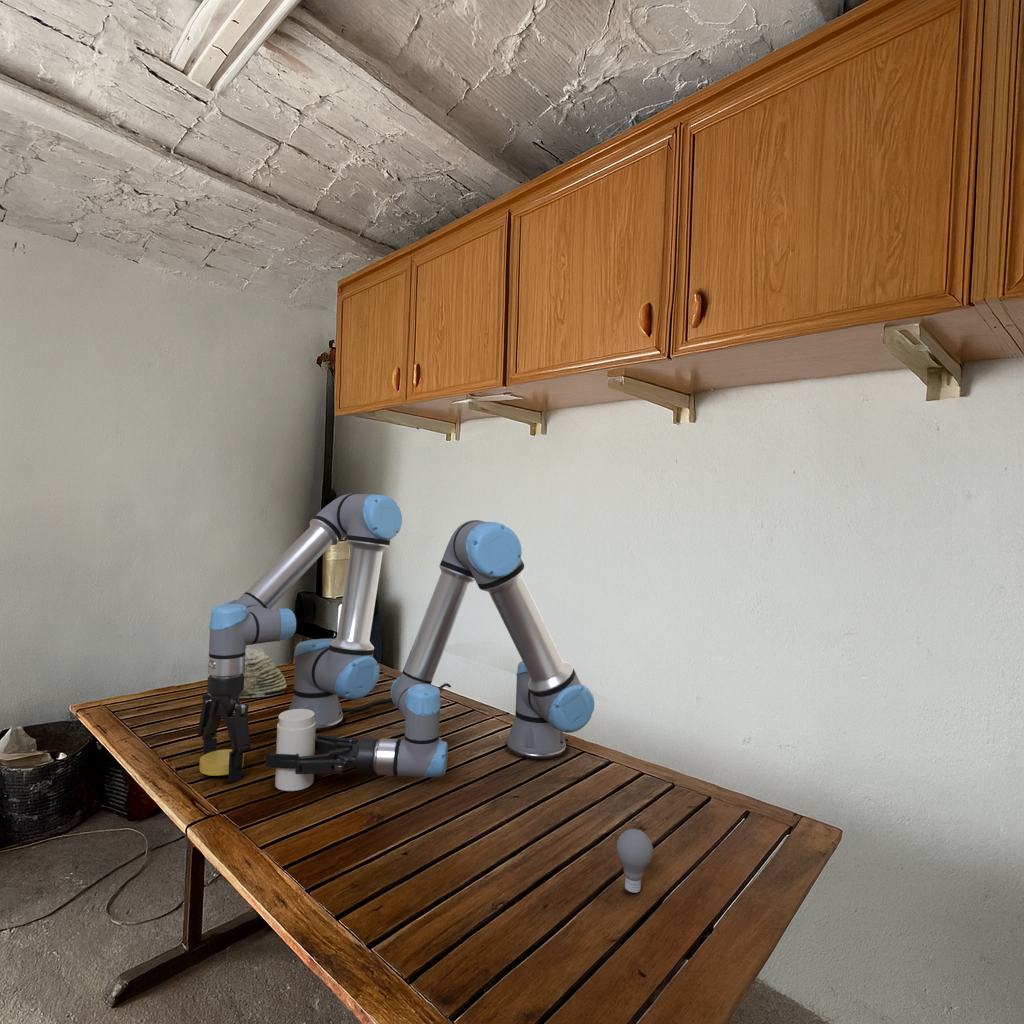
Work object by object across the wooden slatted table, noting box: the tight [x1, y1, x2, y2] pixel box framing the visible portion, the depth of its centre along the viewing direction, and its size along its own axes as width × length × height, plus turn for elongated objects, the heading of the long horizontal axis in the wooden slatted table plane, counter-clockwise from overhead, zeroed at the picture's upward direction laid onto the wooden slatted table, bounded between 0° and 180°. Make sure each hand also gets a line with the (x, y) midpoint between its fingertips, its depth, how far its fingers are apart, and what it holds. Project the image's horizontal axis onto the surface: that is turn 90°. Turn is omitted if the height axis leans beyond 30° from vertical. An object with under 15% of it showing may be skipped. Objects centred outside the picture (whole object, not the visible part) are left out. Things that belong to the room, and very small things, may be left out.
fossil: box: [239, 646, 288, 699], centre depth 198 cm, size 9×18×15 cm, turn 132°
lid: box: [198, 748, 245, 777], centre depth 142 cm, size 9×9×2 cm
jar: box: [274, 709, 317, 792], centre depth 140 cm, size 8×8×15 cm
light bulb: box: [615, 828, 654, 894], centre depth 106 cm, size 6×6×10 cm
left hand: (221, 774), depth 142 cm, fingers closed on lid, 9 cm apart
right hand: (274, 752), depth 140 cm, fingers closed on jar, 8 cm apart
